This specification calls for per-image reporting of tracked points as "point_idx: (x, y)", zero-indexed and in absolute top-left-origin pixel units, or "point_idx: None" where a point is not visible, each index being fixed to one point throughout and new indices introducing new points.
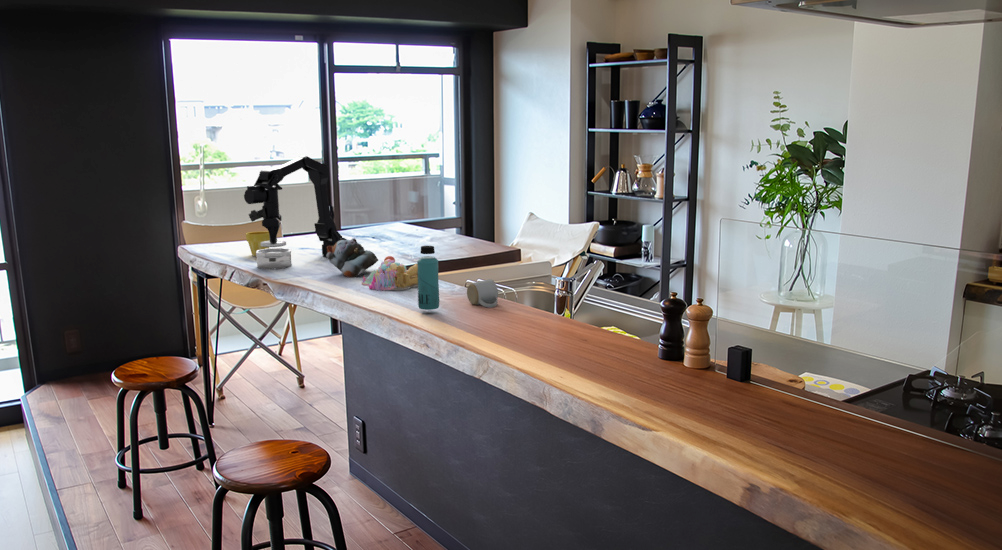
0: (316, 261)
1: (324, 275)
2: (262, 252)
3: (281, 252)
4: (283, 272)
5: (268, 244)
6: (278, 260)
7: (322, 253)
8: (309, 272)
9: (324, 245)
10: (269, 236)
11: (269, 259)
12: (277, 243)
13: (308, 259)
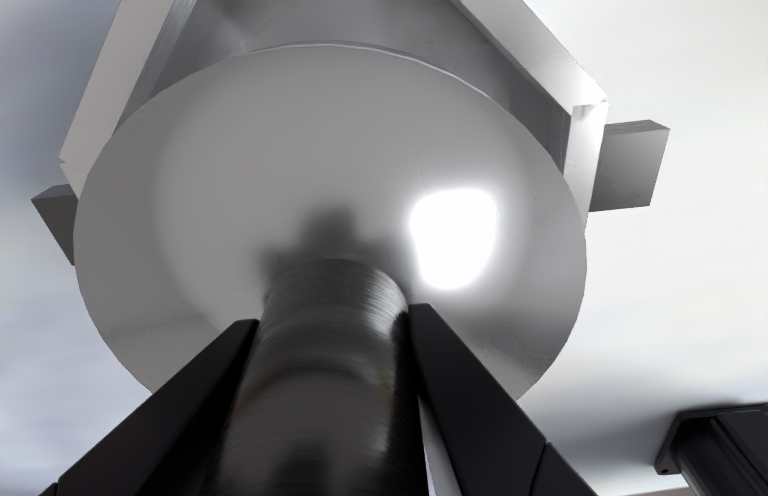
0: None
1: (46, 469)
2: (464, 16)
3: None
4: (63, 273)
5: (82, 272)
6: None
7: (724, 421)
8: (113, 407)
9: (759, 491)
10: (269, 370)
11: (36, 202)
12: None
13: (623, 348)
